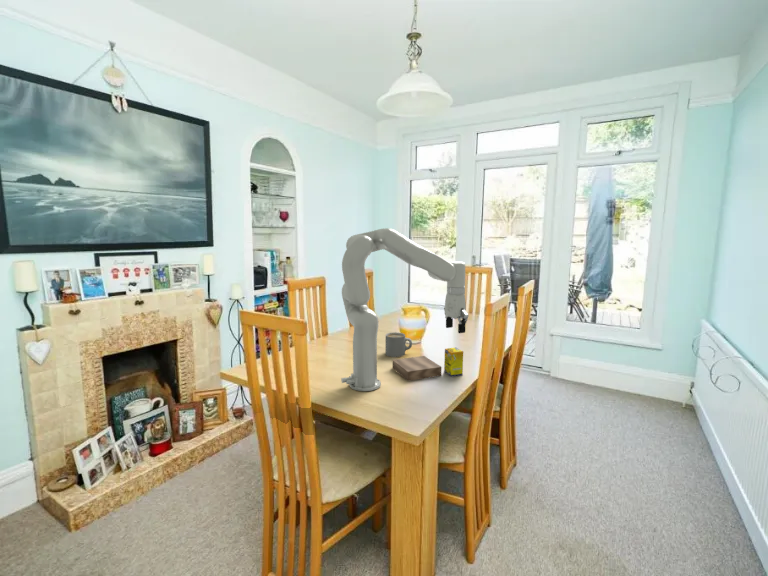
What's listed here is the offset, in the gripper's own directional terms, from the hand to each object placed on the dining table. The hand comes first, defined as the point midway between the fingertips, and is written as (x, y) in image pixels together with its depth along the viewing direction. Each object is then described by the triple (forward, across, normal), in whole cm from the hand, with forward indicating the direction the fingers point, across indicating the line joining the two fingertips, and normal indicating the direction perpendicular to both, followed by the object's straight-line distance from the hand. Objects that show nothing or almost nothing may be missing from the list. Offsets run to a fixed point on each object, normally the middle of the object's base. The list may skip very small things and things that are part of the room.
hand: (455, 330), depth 164 cm
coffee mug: (+20, -34, -12) cm, 41 cm away
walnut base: (+19, -8, -15) cm, 26 cm away
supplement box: (+20, 0, -1) cm, 20 cm away
